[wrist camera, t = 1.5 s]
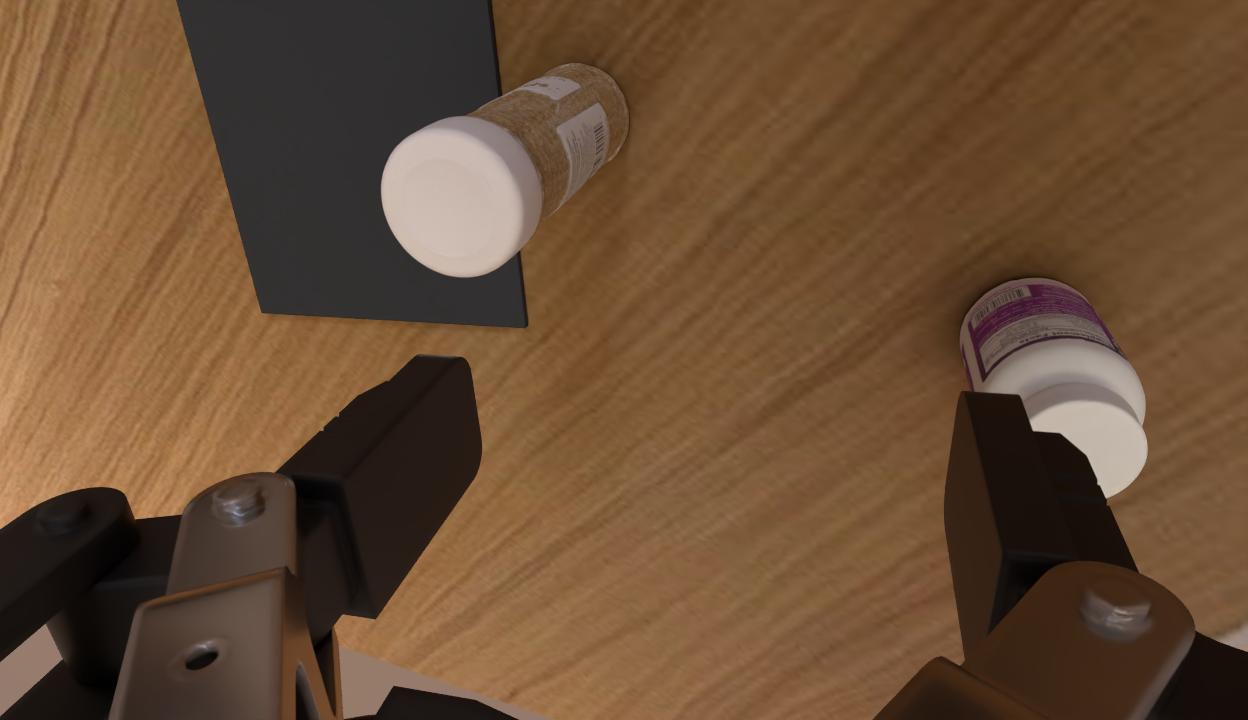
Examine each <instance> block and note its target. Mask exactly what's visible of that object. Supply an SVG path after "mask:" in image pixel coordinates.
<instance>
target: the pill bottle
mask: <svg viewBox="0 0 1248 720" xmlns="http://www.w3.org/2000/svg"><path fill="white" fill-rule="evenodd" d="M960 350H961V355H962V359H963V363H964V367H965V370H966V374H967V378H968V382H969V386H970V389H971V391H972V392H988V393H1003V394H1018V395H1020V397H1021V399H1022V402H1023V404H1024V407H1025V410H1026V413H1027V416H1028V418H1029V421H1030V424H1031V427H1032V429H1033V431H1041V432H1054V433H1061V434H1062V435H1063V436H1064V437H1066V438H1067V439H1068V440H1069V441H1070V442H1071V443H1073V444H1074V445H1075V446H1076V447H1077V448H1078V449H1080V450H1081V451H1082V452H1083V453H1084V454H1086V455H1087V457H1088V459H1089V462H1090V464H1091V466H1092V468H1093V471H1094V473H1095V475H1096V477H1097V480H1098V482H1097V484H1098V485H1100V486H1101V489H1102V491H1103V493H1104V495H1105V498H1108V497H1111V496H1113V495H1115V494H1117V493H1118V492H1120V491H1122V490H1123V489H1125V488H1126V487H1127V486H1129V485H1130V484H1131V483H1132V482H1133V481H1134V479H1135V478H1136V477H1137V476H1138V475H1139V473H1140V471H1141V470H1142V468H1143V466H1144V464H1145V461H1146V457H1147V440H1146V436H1145V433H1144V431H1143V428H1142V425H1143V421H1144V417H1145V410H1146V402H1145V395H1144V391H1143V387H1142V385H1141V382H1140V379H1139V377H1138V375H1137V373H1136V372H1135V370H1134V369H1133V367H1132V366H1131V364H1130V363H1129V361H1128V360H1127V358H1126V357H1125V355H1124V354H1123V352H1122V350H1121V349H1120V348H1119V346H1118V344H1117V343H1116V341H1115V340H1114V338H1113V337H1112V335H1111V334H1110V332H1109V331H1108V329H1107V328H1106V326H1105V325H1104V323H1103V322H1102V320H1101V318H1100V317H1099V315H1098V314H1097V312H1096V311H1095V310H1094V308H1093V307H1092V306H1091V304H1090V303H1089V302H1088V301H1087V299H1086V298H1085V297H1084V296H1083V295H1082V294H1080V293H1079V292H1078V291H1076V290H1075V289H1073V288H1072V287H1070V286H1068V285H1066V284H1064V283H1061V282H1059V281H1055V280H1050V279H1046V278H1025V279H1020V280H1012V281H1009V282H1006V283H1004V284H1001V285H999V286H998V287H996V288H994V289H992V290H990V291H989V292H987V293H986V294H984V295H983V297H981V298H980V299H979V300H978V301H977V302H976V303H975V304H974V305H973V306H972V308H971V309H970V311H969V312H968V313H967V315H966V316H965V319H964V321H963V324H962V327H961V331H960Z"/></svg>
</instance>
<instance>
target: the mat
mask: <svg viewBox="0 0 1248 720" xmlns="http://www.w3.org/2000/svg"><path fill="white" fill-rule="evenodd" d="M176 1H177V5H178V8H179V12H180V16H181V19H182V23H183V27H184V30H185V34H186V38H187V41H188V45H189V49H190V52H191V56H192V60H193V63H194V67H195V71H196V74H197V78H198V81H199V85H200V89H201V92H202V96H203V100H204V103H205V107H206V111H207V114H208V118H209V122H210V125H211V129H212V133H213V136H214V140H215V144H216V147H217V151H218V155H219V158H220V162H221V166H222V169H223V173H224V177H225V180H226V184H227V188H228V191H229V195H230V199H231V202H232V206H233V210H234V213H235V217H236V221H237V224H238V228H239V232H240V235H241V239H242V243H243V246H244V250H245V253H246V257H247V261H248V264H249V268H250V272H251V275H252V279H253V283H254V286H255V290H256V294H257V297H258V301H259V305H260V308H261V312H262V313H269V314H287V315H304V316H322V317H339V318H357V319H374V320H392V321H409V322H427V323H444V324H462V325H479V326H497V327H514V328H526V327H527V326H528V319H527V311H526V302H525V293H524V285H523V276H522V267H521V259H520V250H519V251H518V252H517V253H516V254H515V255H514V256H513V257H512V258H510V259H509V260H508V261H507V262H506V263H504V264H503V265H502V266H500V267H499V268H497V269H496V270H494V271H491V272H489V273H487V274H484V275H480V276H476V277H468V278H467V277H453V276H448V275H445V274H441V273H439V272H436V271H434V270H432V269H430V268H428V267H426V266H425V265H423V264H421V263H420V262H418V261H417V260H416V259H415V258H413V257H412V256H411V255H410V254H409V253H408V252H407V251H406V250H405V249H404V248H403V246H402V245H401V244H400V243H399V241H398V240H397V238H396V237H395V235H394V234H393V232H392V230H391V228H390V226H389V224H388V222H387V219H386V216H385V213H384V210H383V205H382V198H381V182H382V175H383V171H384V168H385V165H386V163H387V161H388V159H389V157H390V155H391V153H392V152H393V150H394V149H395V148H396V147H397V145H399V144H400V143H401V142H402V141H403V140H404V139H405V138H407V137H408V136H410V135H411V134H413V133H415V132H417V131H419V130H420V129H422V128H424V127H426V126H428V125H430V124H432V123H435V122H437V121H439V120H442V119H445V118H449V117H455V116H465V115H468V114H470V113H472V112H474V111H476V110H478V109H479V108H480V107H482V106H483V105H485V104H487V103H489V102H491V101H493V100H495V99H497V98H499V97H501V96H502V95H501V86H500V77H499V69H498V60H497V52H496V43H495V34H494V26H493V17H492V8H491V0H176Z"/></svg>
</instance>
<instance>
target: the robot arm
mask: <svg viewBox="0 0 1248 720" xmlns="http://www.w3.org/2000/svg"><path fill="white" fill-rule="evenodd" d="M481 455H482V439H481V432H480V426H479V419H478V413H477V406H476V400H475V393H474V387H473V380H472V374H471V369H470V366H469V364H468V362H467V360H466V359H465V358H463V357H455V356H439V355H424V354H419V355H416V356H415V357H414V358H412V359H411V360H410V361H409V362H408V363H407V364H406V365H405V366H404V367H403V368H402V369H401V370H400V371H399V372H398V373H397V374H396V375H395V376H394V377H393V378H392V379H391V380H389V381H385V382H383V383H381V384H380V385H378V386H376V387H374V388H372V389H370V390H368V391H366V392H364V393H362V394H360V395H358V396H357V397H356V398H355V399H354V400H353V401H352V402H351V403H349V404H348V405H347V406H346V407H345V408H344V409H343V410H342V411H341V412H340V413H339V417H334V418H333V419H332V420H331V421H330V422H329V423H328V424H327V425H326V426H325V427H324V431H319V432H318V433H317V434H316V435H315V436H314V437H313V438H312V439H311V440H310V441H308V442H307V443H306V444H305V445H304V446H303V447H302V448H301V449H300V450H299V451H298V452H297V453H295V454H294V455H293V456H292V457H291V458H290V459H289V460H288V461H287V462H286V463H285V464H284V465H283V466H281V467H280V468H279V469H278V470H277V471H276V472H275V473H272V472H256V473H249V474H243V475H239V476H235V477H232V478H229V479H226V480H223V481H221V482H219V483H216V484H214V485H212V486H210V487H209V488H207V489H205V490H204V491H202V492H201V493H199V494H198V495H197V496H195V497H194V498H193V499H192V500H191V501H190V502H189V503H188V504H187V506H186V507H185V509H184V511H183V513H182V515H174V516H164V517H155V518H145V519H135V518H134V516H133V513H132V511H131V508H130V505H129V503H128V500H127V498H126V496H125V494H124V493H122V492H121V491H119V490H117V489H113V488H107V487H95V488H86V489H80V490H76V491H72V492H68V493H65V494H62V495H59V496H56V497H54V498H51V499H49V500H47V501H44V502H42V503H40V504H38V505H36V506H35V507H33V508H31V509H30V510H28V511H26V512H25V513H23V514H22V515H20V516H19V517H18V518H16V519H15V520H13V521H12V522H10V523H9V524H7V525H6V526H5V527H3V528H2V529H0V662H1V661H2V660H3V659H4V658H5V657H6V656H8V655H9V654H10V653H11V652H13V651H14V650H15V649H16V648H17V647H18V646H20V645H21V644H22V643H23V642H24V641H25V640H27V639H28V638H29V637H30V636H31V635H32V634H34V633H35V632H36V631H37V630H38V629H40V628H41V627H42V626H43V625H44V624H45V623H46V625H47V627H48V629H49V631H50V633H51V635H52V637H53V639H54V641H55V643H56V645H57V647H58V650H59V652H60V654H61V656H62V658H63V660H61V661H60V662H59V663H58V664H57V665H56V666H55V667H54V668H53V669H52V670H51V671H49V673H47V674H46V675H45V676H44V677H43V678H42V679H41V680H40V681H39V682H37V683H36V684H35V685H34V686H33V687H32V688H31V689H30V690H29V691H28V692H27V693H25V694H24V695H23V696H22V697H21V698H20V699H19V700H18V701H17V702H16V703H15V704H13V705H12V706H11V707H10V708H9V709H8V710H7V711H6V712H5V713H4V714H2V715H1V716H0V720H343V706H342V690H341V675H340V659H339V644H338V639H337V635H336V632H335V628H334V625H335V623H336V622H337V621H338V619H339V618H340V617H341V615H342V614H345V615H351V616H358V617H364V618H371V619H376V618H377V617H378V616H379V614H380V613H381V611H382V610H383V608H384V607H385V606H386V604H387V603H388V601H389V600H390V598H391V597H392V596H393V594H394V593H395V591H396V590H397V588H398V587H399V586H400V584H401V583H402V581H403V580H404V578H405V577H406V576H407V574H408V573H409V571H410V570H411V568H412V567H413V566H414V564H415V563H416V561H417V560H418V558H419V557H420V556H421V554H422V553H423V551H424V550H425V548H426V547H427V546H428V544H429V543H430V541H431V540H432V538H433V537H434V536H435V534H436V533H437V531H438V530H439V528H440V527H441V526H442V524H443V523H444V521H445V520H446V518H447V517H448V516H449V514H450V513H451V511H452V510H453V508H454V507H455V506H456V504H457V503H458V501H459V500H460V498H461V497H462V496H463V494H464V493H465V491H466V490H467V488H468V487H469V486H470V484H471V483H472V481H473V480H474V478H475V477H476V474H477V472H478V469H479V466H480V461H481ZM1097 482H1098V480H1097V477H1096V475H1095V473H1094V471H1093V468H1092V466H1091V464H1090V462H1089V459H1088V457H1087V455H1086V454H1084V453H1083V452H1082V451H1081V450H1080V449H1078V448H1077V447H1076V446H1075V445H1074V444H1073V443H1071V442H1070V441H1069V440H1068V439H1067V438H1066V437H1064V436H1063V435H1062V434H1061V433H1054V432H1041V431H1033V429H1032V427H1031V424H1030V421H1029V418H1028V416H1027V413H1026V410H1025V407H1024V404H1023V402H1022V399H1021V397H1020V395H1018V394H1003V393H988V392H972V391H962V392H961V393H960V396H959V399H958V403H957V409H956V416H955V423H954V430H953V437H952V444H951V451H950V457H949V464H948V471H947V478H946V486H945V497H944V524H945V532H946V539H947V545H948V552H949V559H950V565H951V572H952V578H953V585H954V591H955V598H956V605H957V611H958V618H959V624H960V631H961V637H962V644H963V651H964V657H965V661H964V662H963V663H962V664H961V665H960V666H959V665H957V664H955V663H953V662H952V661H950V660H948V659H947V658H945V657H942V656H940V657H936V658H934V659H932V660H931V661H929V662H928V663H927V664H926V665H925V666H924V667H923V668H922V669H921V670H920V671H919V672H918V673H917V674H916V675H915V676H914V677H913V678H912V679H911V680H910V681H909V682H908V683H907V684H906V685H905V686H904V687H903V688H902V689H901V690H900V691H899V693H898V694H897V695H896V696H895V697H894V698H893V699H892V700H891V701H890V702H889V703H888V704H887V705H886V706H885V707H884V708H883V709H882V710H881V711H880V712H879V713H878V714H877V716H876V717H875V718H874V719H873V720H1248V652H1246V651H1243V650H1240V649H1237V648H1234V647H1231V646H1229V645H1226V644H1223V643H1220V642H1218V641H1216V640H1213V639H1211V638H1209V637H1207V636H1204V635H1202V634H1201V633H1199V632H1197V631H1195V624H1194V620H1193V618H1192V616H1191V614H1190V612H1189V610H1188V609H1187V608H1186V606H1185V605H1184V604H1183V603H1182V602H1181V601H1180V600H1179V599H1178V598H1177V597H1176V596H1175V595H1174V594H1173V593H1172V592H1170V591H1169V590H1168V589H1166V588H1165V587H1164V586H1162V585H1161V584H1159V583H1157V582H1156V581H1154V580H1152V579H1151V578H1148V577H1146V576H1144V575H1142V574H1140V573H1139V571H1138V569H1137V567H1136V565H1135V563H1134V560H1133V558H1132V556H1131V554H1130V551H1129V549H1128V547H1127V545H1126V542H1125V540H1124V538H1123V536H1122V533H1121V531H1120V529H1119V527H1118V524H1117V522H1116V520H1115V518H1114V515H1113V513H1112V511H1111V509H1110V506H1107V500H1106V498H1105V495H1104V493H1103V491H1102V489H1101V486H1100V485H1098V484H1097ZM344 720H518V719H516V718H514V717H512V716H509V715H507V714H505V713H503V712H501V711H498V710H496V709H494V708H492V707H490V706H487V705H485V704H483V703H481V702H479V701H477V700H472V699H467V698H461V697H455V696H449V695H443V694H438V693H432V692H426V691H420V690H414V689H409V688H403V687H397V686H393V688H392V689H391V691H390V692H389V694H388V696H387V697H386V699H385V701H384V702H383V704H382V706H381V707H380V709H379V710H378V712H377V714H376V715H366V716H360V717H354V718H348V719H344Z"/></svg>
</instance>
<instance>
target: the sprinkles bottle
mask: <svg viewBox="0 0 1248 720" xmlns="http://www.w3.org/2000/svg"><path fill="white" fill-rule="evenodd" d="M628 129H629V111H628V107H627V104H626V101H625V98H624V95H623V93H622V92H621V90H620V89H619V87H618V85H617V84H616V83H615V81H614V80H613V79H612V77H610V76H609V75H608V74H606V73H605V72H603V71H602V70H600V69H598V68H596V67H593V66H589V65H586V64H581V63H569V64H564V65H560V66H558V67H555V68H553V69H551V70H550V71H548V72H546V73H545V74H544V75H543V77H542V78H538V79H535V80H532V81H530V82H528V83H526V84H524V85H522V86H520V87H519V88H517V89H515V90H513V91H511V92H509V93H507V94H505V95H503V96H501V97H499V98H497V99H495V100H493V101H491V102H489V103H487V104H485V105H483V106H482V107H480V108H479V109H478V110H476V111H474V112H472V113H470V114H468V115H465V116H455V117H449V118H445V119H442V120H439V121H437V122H435V123H432V124H430V125H428V126H426V127H424V128H422V129H420V130H419V131H417V132H415V133H413V134H411V135H410V136H408V137H407V138H405V139H404V140H403V141H402V142H401V143H400V144H399V145H397V147H396V148H395V149H394V150H393V152H392V153H391V155H390V157H389V159H388V161H387V163H386V165H385V168H384V171H383V175H382V182H381V198H382V205H383V210H384V213H385V216H386V219H387V222H388V224H389V226H390V228H391V230H392V232H393V234H394V235H395V237H396V238H397V240H398V241H399V243H400V244H401V245H402V246H403V248H404V249H405V250H406V251H407V252H408V253H409V254H410V255H411V256H412V257H413V258H415V259H416V260H417V261H418V262H420V263H421V264H423V265H425V266H426V267H428V268H430V269H432V270H434V271H436V272H439V273H441V274H445V275H448V276H453V277H467V278H468V277H476V276H480V275H484V274H487V273H489V272H491V271H494V270H496V269H497V268H499V267H500V266H502V265H503V264H504V263H506V262H507V261H508V260H509V259H510V258H512V257H513V256H514V255H515V254H516V253H517V252H518V251H519V250H520V249H521V248H522V247H523V246H524V245H525V244H526V243H527V242H528V241H529V240H530V238H531V237H532V235H533V234H534V232H535V230H536V228H537V226H538V225H539V224H540V223H541V222H542V221H543V220H545V219H547V218H548V217H550V216H551V215H552V214H553V213H554V212H555V211H557V210H558V209H559V208H560V207H561V206H562V205H563V204H564V203H565V202H566V201H567V200H568V199H569V198H570V197H571V196H572V195H574V194H575V193H576V192H577V191H578V190H579V189H580V188H581V187H582V186H583V185H584V184H585V183H586V182H587V181H588V180H589V179H590V178H591V177H592V176H593V175H594V174H595V173H596V172H597V170H598V169H599V168H600V167H601V166H603V165H605V164H607V163H608V162H610V161H611V160H612V159H613V158H614V157H615V156H616V155H617V154H618V153H619V151H620V149H621V147H622V146H623V144H624V142H625V139H626V136H627V134H628Z"/></svg>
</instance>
